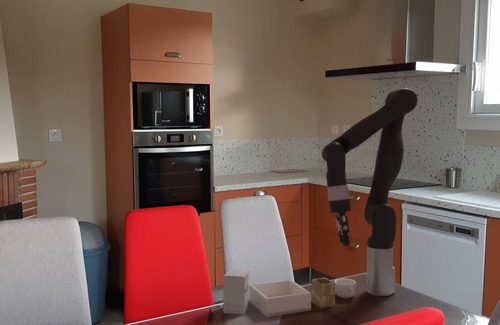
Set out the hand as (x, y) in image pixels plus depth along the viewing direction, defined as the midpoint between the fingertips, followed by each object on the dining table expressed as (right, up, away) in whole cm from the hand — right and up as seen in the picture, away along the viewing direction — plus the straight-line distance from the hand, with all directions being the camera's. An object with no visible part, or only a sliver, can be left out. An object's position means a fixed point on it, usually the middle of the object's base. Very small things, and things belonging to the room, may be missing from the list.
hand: (344, 244), depth 178 cm
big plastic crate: (-24, -20, -6) cm, 32 cm away
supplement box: (-38, -21, -10) cm, 45 cm away
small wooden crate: (-8, -20, -4) cm, 22 cm away
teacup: (+1, -20, +3) cm, 20 cm away
